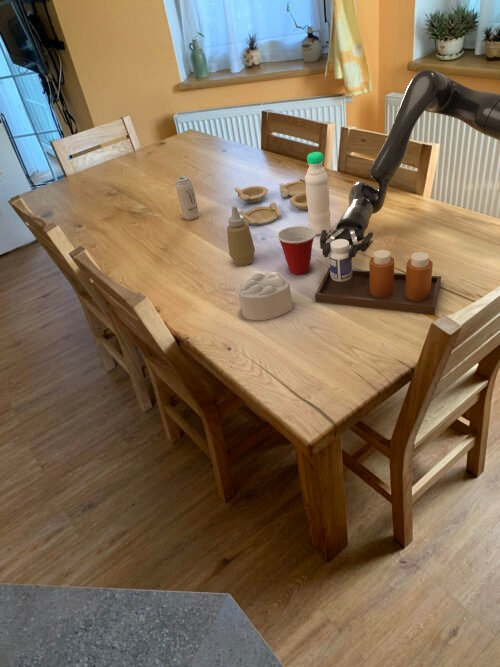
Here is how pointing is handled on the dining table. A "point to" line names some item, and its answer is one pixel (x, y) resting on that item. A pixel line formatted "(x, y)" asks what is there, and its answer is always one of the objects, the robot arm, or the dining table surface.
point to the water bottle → (317, 194)
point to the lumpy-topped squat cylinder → (265, 296)
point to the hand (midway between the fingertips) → (337, 255)
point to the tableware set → (271, 212)
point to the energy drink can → (187, 198)
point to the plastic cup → (297, 247)
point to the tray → (359, 295)
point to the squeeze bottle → (240, 239)
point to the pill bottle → (340, 260)
